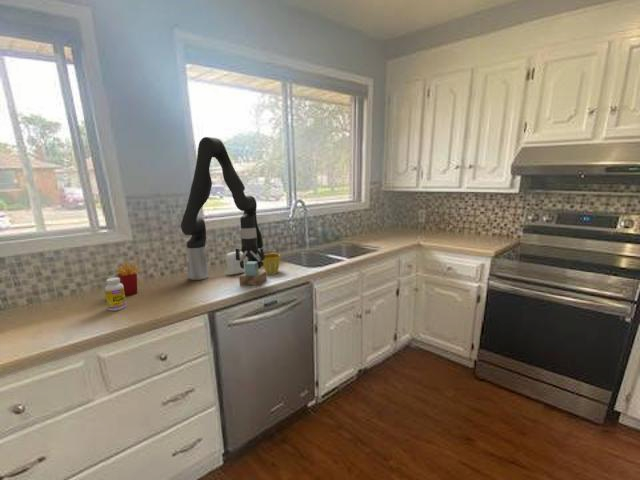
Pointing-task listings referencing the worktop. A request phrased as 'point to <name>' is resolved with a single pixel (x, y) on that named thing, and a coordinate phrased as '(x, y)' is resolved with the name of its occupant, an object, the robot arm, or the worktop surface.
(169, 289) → the worktop surface
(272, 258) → the plant pot
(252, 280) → the walnut block
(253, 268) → the teal block
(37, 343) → the worktop surface
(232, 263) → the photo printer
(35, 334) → the worktop surface
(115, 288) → the supplement bottle
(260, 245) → the beer bottle
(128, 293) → the french fries
